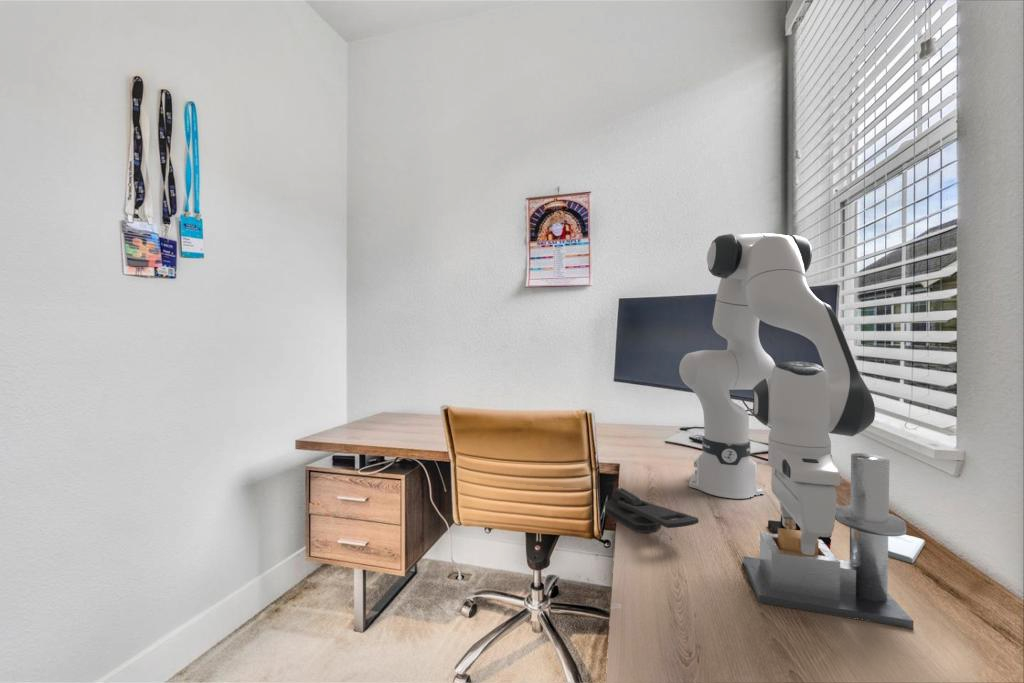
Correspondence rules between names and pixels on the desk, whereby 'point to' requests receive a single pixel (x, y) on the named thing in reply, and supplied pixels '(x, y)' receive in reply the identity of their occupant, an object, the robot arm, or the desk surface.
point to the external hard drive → (905, 547)
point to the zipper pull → (643, 513)
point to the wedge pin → (791, 540)
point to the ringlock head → (837, 581)
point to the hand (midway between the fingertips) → (797, 539)
